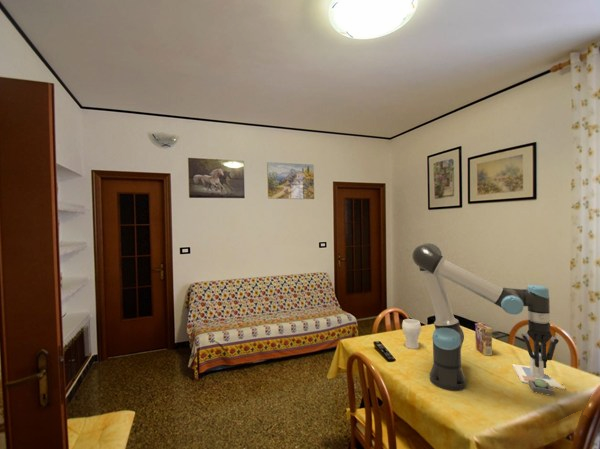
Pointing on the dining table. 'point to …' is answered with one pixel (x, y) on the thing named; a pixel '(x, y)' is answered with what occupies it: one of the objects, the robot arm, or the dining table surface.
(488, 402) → the dining table surface
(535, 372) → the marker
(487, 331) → the candy box
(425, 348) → the dining table surface
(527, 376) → the picture card
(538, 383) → the button
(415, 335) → the cup
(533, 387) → the button housing
